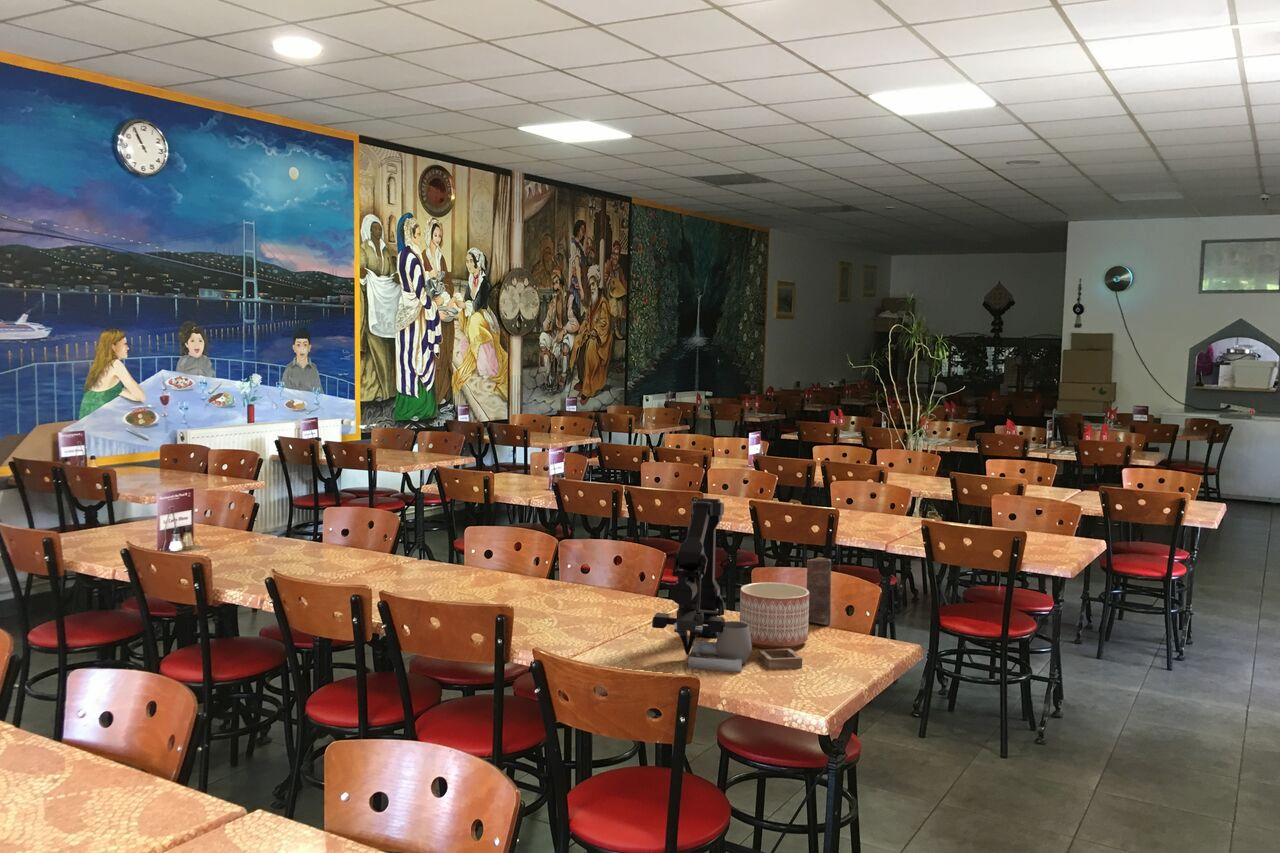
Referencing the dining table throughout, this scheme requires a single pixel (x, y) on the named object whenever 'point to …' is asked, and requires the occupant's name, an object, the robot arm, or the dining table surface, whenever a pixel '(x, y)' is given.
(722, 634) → the cup
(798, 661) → the square wooden tray
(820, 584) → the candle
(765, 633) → the planter
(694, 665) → the grey square frame
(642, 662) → the dining table surface
